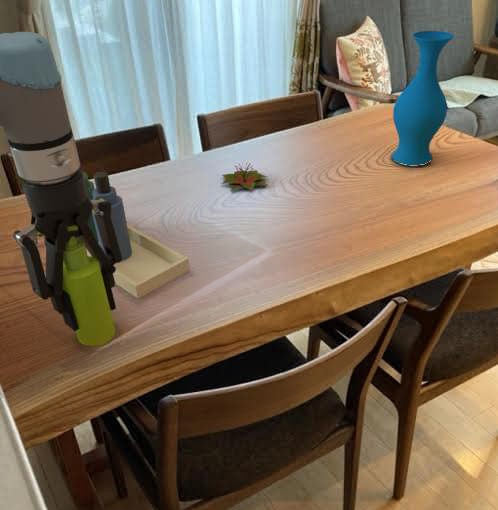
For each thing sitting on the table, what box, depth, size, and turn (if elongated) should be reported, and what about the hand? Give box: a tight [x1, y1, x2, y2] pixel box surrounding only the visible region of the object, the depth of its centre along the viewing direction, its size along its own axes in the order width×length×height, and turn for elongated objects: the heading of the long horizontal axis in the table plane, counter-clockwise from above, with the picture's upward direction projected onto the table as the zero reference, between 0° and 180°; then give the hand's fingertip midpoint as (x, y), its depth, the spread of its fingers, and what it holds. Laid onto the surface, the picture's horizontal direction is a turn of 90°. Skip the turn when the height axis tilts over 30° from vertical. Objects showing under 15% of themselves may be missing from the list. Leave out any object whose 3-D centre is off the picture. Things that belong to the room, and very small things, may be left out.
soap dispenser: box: [37, 224, 116, 347], centre depth 78 cm, size 6×7×20 cm
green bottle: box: [77, 164, 99, 243], centre depth 102 cm, size 6×6×16 cm
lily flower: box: [220, 162, 269, 192], centre depth 125 cm, size 12×12×5 cm
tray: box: [86, 223, 190, 299], centre depth 101 cm, size 28×12×3 cm, turn 46°
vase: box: [391, 30, 455, 168], centre depth 125 cm, size 12×13×28 cm
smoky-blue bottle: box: [92, 171, 132, 261], centre depth 97 cm, size 6×6×16 cm
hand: (90, 315), depth 82 cm, fingers closed on soap dispenser, 6 cm apart
